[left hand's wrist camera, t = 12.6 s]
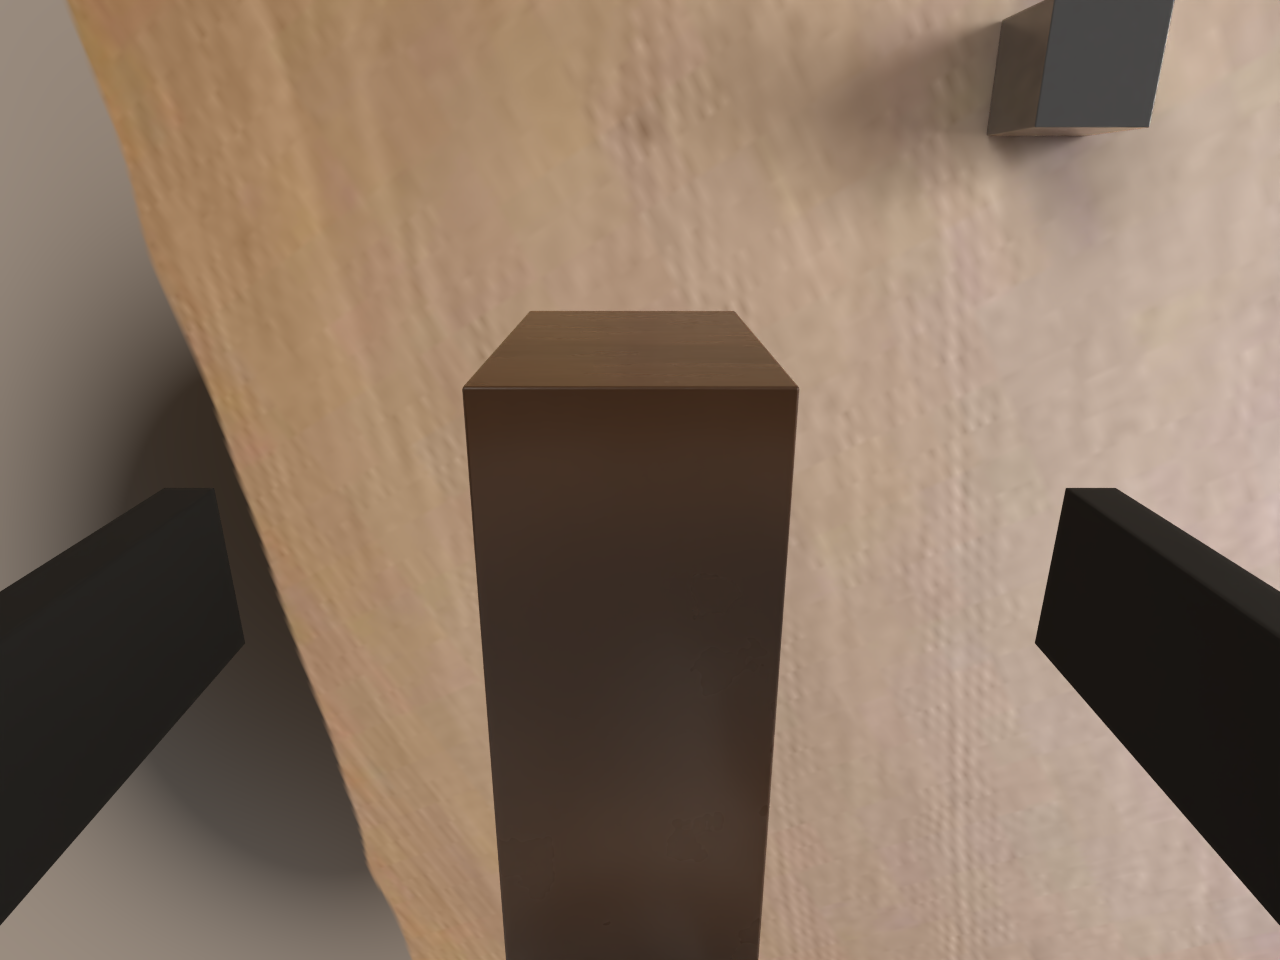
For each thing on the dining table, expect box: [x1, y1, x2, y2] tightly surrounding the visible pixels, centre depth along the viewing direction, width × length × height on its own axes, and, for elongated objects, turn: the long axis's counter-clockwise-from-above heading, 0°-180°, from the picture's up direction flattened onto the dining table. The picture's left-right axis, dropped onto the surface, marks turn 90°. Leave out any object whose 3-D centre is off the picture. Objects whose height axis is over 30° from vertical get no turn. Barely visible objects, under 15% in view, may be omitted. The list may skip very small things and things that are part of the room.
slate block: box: [987, 0, 1175, 136], centre depth 29 cm, size 4×4×4 cm
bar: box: [462, 311, 799, 960], centre depth 20 cm, size 26×5×8 cm, turn 0°
